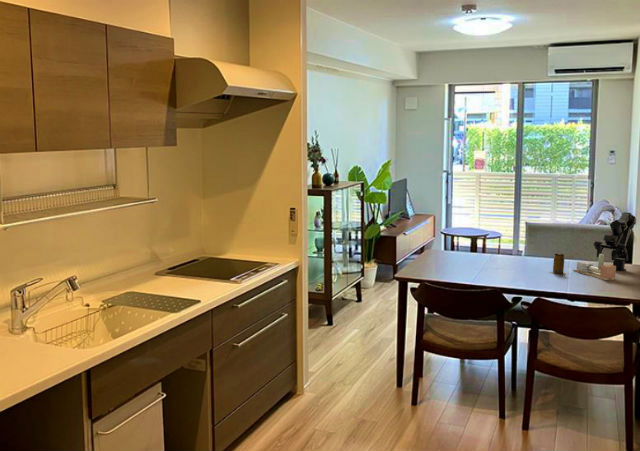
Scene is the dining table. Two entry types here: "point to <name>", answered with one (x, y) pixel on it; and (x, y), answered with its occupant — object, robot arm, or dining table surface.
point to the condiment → (558, 264)
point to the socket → (608, 271)
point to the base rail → (593, 274)
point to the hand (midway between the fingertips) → (604, 258)
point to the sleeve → (583, 266)
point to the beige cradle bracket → (601, 262)
